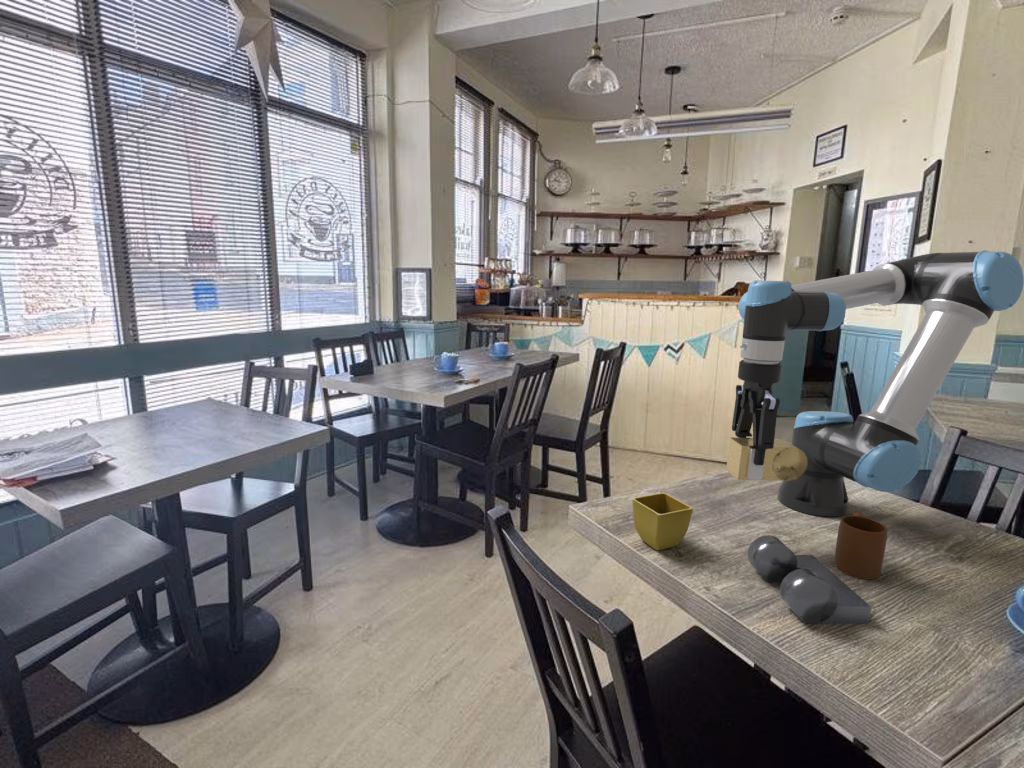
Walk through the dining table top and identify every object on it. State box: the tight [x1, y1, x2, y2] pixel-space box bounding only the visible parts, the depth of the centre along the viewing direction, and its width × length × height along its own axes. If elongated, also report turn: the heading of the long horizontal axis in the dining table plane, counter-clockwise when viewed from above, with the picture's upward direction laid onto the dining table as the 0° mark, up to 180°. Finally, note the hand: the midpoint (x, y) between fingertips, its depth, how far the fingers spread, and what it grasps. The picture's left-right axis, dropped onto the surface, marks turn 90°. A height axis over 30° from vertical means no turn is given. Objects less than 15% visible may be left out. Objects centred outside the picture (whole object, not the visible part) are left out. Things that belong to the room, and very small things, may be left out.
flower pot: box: [631, 492, 694, 551], centre depth 109 cm, size 9×9×9 cm
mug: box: [833, 511, 888, 580], centre depth 103 cm, size 12×8×9 cm, turn 154°
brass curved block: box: [725, 437, 807, 482], centre depth 108 cm, size 14×6×7 cm, turn 91°
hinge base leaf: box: [747, 534, 872, 625], centre depth 93 cm, size 12×16×7 cm
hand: (747, 473), depth 109 cm, fingers closed on brass curved block, 6 cm apart
